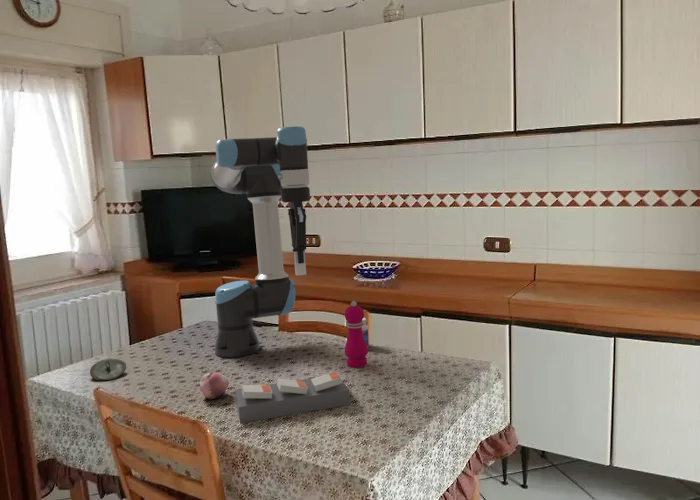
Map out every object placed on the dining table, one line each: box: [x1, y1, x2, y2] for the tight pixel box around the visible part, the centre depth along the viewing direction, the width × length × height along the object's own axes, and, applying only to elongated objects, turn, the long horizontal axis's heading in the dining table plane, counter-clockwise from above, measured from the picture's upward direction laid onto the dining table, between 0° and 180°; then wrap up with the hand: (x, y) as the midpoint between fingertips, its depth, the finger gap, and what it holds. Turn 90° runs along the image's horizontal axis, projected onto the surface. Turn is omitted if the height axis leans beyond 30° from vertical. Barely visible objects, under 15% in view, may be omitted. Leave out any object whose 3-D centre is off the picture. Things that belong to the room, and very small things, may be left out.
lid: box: [89, 358, 127, 382], centre depth 182 cm, size 11×10×5 cm
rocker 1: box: [241, 384, 272, 399], centre depth 147 cm, size 5×7×2 cm
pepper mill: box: [344, 300, 369, 369], centre depth 179 cm, size 7×7×20 cm
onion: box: [199, 371, 230, 401], centre depth 160 cm, size 8×8×7 cm
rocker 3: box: [310, 370, 343, 392], centre depth 152 cm, size 5×7×2 cm
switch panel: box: [234, 377, 351, 424], centre depth 152 cm, size 12×28×4 cm, turn 105°
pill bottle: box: [362, 317, 370, 348], centre depth 196 cm, size 6×5×10 cm
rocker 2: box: [276, 378, 308, 394], centre depth 150 cm, size 5×7×2 cm
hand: (300, 274), depth 157 cm, fingers closed
